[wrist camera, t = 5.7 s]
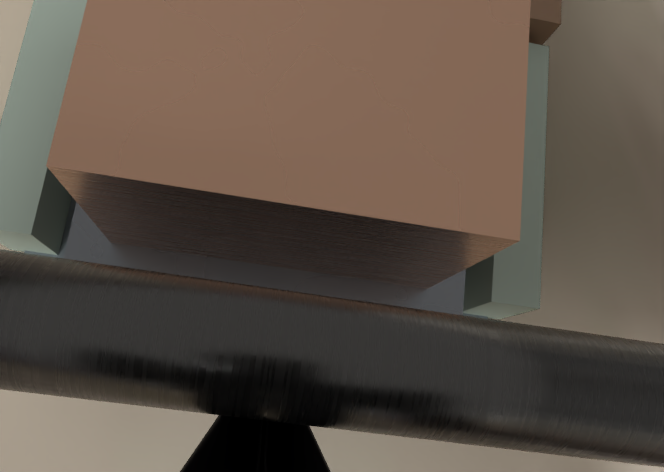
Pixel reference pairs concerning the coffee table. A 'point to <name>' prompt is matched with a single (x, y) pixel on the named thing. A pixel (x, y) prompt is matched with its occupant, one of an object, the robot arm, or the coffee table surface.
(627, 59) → the coffee table surface
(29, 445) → the coffee table surface
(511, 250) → the dock bay
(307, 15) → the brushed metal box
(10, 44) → the coffee table surface
